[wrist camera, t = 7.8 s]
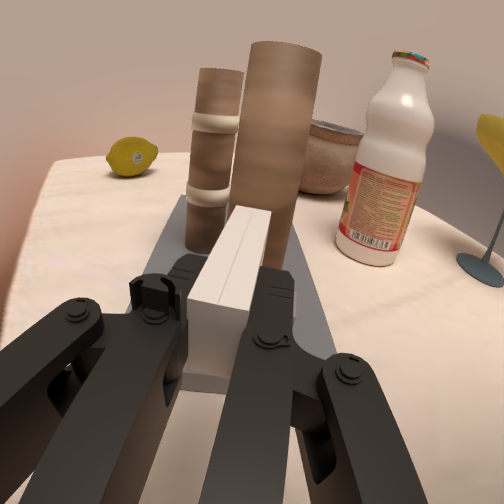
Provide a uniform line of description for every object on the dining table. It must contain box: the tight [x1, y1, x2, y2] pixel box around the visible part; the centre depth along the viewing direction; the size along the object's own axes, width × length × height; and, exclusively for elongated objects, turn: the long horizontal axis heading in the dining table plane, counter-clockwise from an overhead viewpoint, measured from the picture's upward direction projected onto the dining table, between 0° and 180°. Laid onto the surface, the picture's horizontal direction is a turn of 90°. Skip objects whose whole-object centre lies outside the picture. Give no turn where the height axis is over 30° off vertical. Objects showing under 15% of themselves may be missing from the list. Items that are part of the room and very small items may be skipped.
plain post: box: [226, 41, 322, 270], centre depth 19 cm, size 4×4×18 cm
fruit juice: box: [336, 50, 434, 266], centre depth 36 cm, size 9×9×28 cm
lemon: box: [106, 137, 158, 177], centre depth 56 cm, size 11×8×8 cm
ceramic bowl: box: [299, 119, 365, 194], centre depth 62 cm, size 22×22×15 cm
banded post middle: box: [185, 68, 244, 254], centre depth 29 cm, size 4×4×18 cm
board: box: [125, 195, 337, 394], centre depth 32 cm, size 16×32×5 cm, turn 2°
